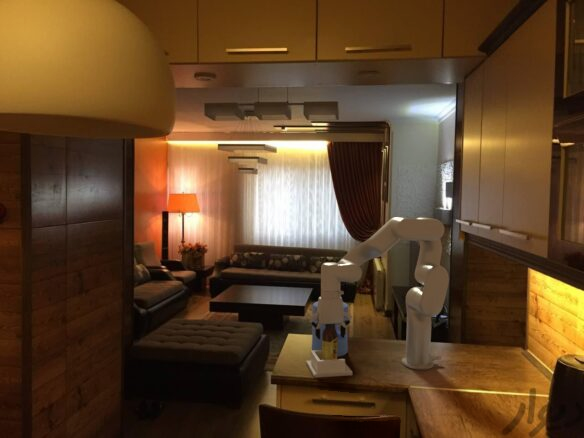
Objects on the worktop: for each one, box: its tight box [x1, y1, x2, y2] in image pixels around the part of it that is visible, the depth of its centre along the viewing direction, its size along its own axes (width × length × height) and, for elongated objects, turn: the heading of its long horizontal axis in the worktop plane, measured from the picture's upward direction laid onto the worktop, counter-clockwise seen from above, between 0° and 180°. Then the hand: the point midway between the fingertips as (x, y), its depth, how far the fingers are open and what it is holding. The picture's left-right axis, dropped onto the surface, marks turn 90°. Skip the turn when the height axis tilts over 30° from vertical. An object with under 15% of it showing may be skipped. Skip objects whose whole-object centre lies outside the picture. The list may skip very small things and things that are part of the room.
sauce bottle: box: [321, 324, 338, 360], centre depth 179 cm, size 6×6×20 cm
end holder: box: [305, 349, 353, 378], centre depth 180 cm, size 15×14×6 cm
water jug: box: [311, 301, 350, 358], centre depth 199 cm, size 16×16×28 cm
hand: (330, 337), depth 179 cm, fingers open, 9 cm apart
